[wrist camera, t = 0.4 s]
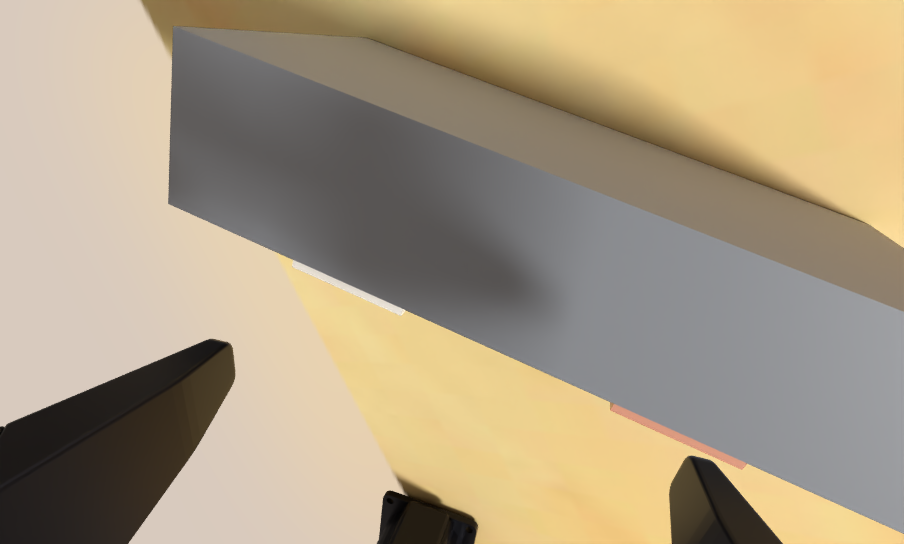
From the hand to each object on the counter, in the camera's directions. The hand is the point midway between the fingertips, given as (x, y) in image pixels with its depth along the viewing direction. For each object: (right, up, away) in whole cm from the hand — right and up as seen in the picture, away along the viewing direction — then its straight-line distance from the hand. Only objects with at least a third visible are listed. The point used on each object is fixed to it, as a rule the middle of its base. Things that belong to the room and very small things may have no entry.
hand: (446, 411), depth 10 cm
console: (+6, +7, +12) cm, 15 cm away
